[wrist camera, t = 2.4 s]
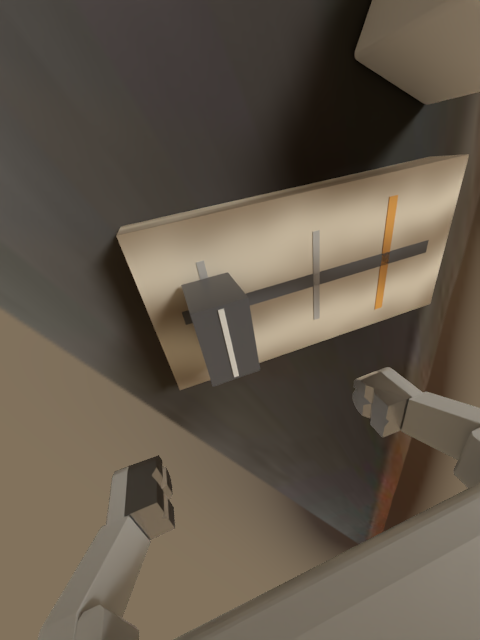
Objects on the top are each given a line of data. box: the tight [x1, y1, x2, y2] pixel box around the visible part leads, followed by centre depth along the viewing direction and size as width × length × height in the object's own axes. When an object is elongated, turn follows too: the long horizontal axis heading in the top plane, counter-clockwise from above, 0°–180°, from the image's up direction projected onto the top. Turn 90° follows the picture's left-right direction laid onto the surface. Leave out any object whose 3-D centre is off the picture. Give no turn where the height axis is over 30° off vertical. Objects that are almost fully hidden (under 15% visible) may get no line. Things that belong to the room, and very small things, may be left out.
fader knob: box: [181, 272, 260, 387], centre depth 16 cm, size 5×3×4 cm, turn 10°
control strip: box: [116, 154, 469, 390], centre depth 20 cm, size 12×24×3 cm, turn 100°
